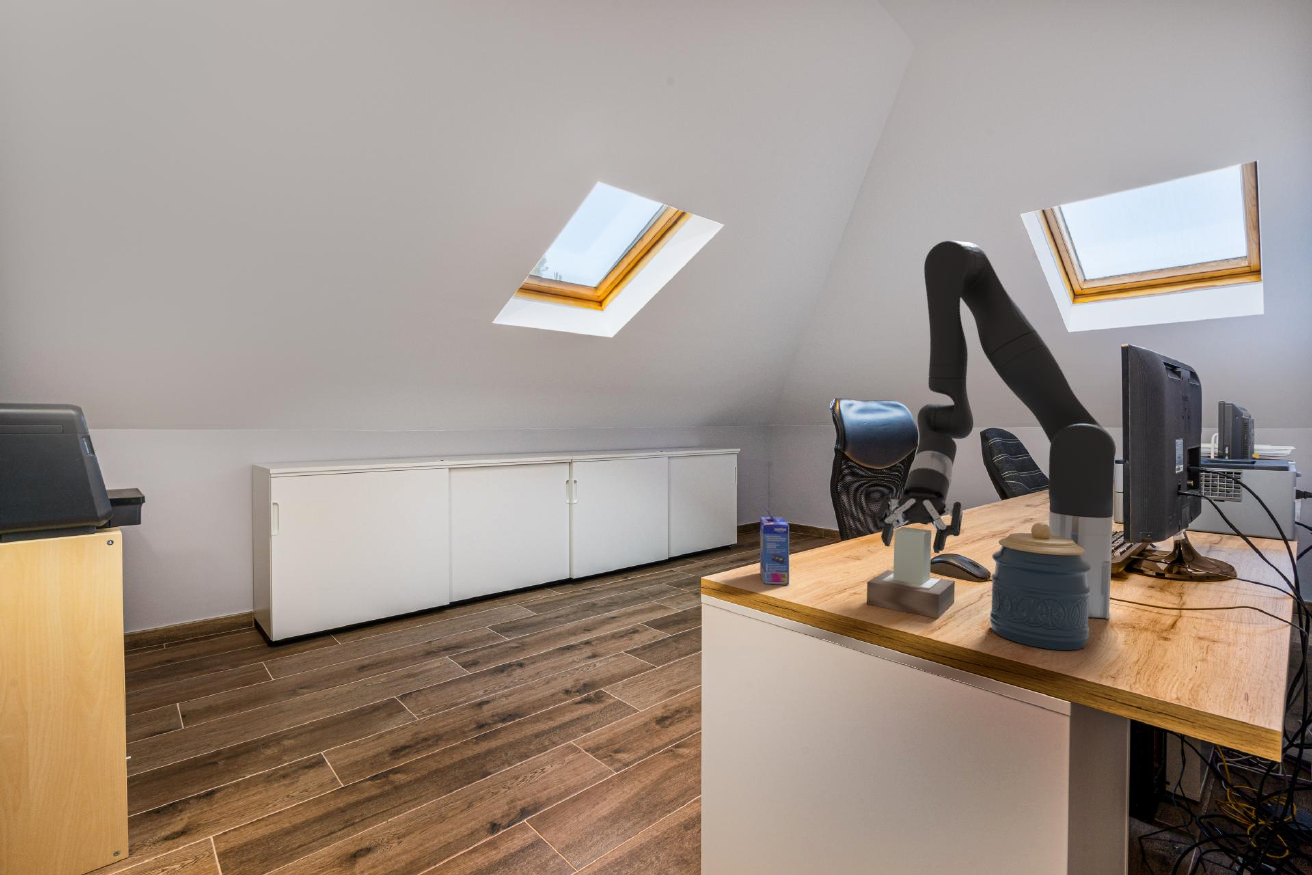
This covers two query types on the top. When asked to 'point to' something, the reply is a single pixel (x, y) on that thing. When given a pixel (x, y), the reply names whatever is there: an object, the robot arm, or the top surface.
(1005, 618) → the canister
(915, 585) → the walnut plinth
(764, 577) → the ink cartridge box
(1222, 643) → the top surface
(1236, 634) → the top surface
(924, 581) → the sage block
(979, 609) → the top surface
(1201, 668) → the top surface
